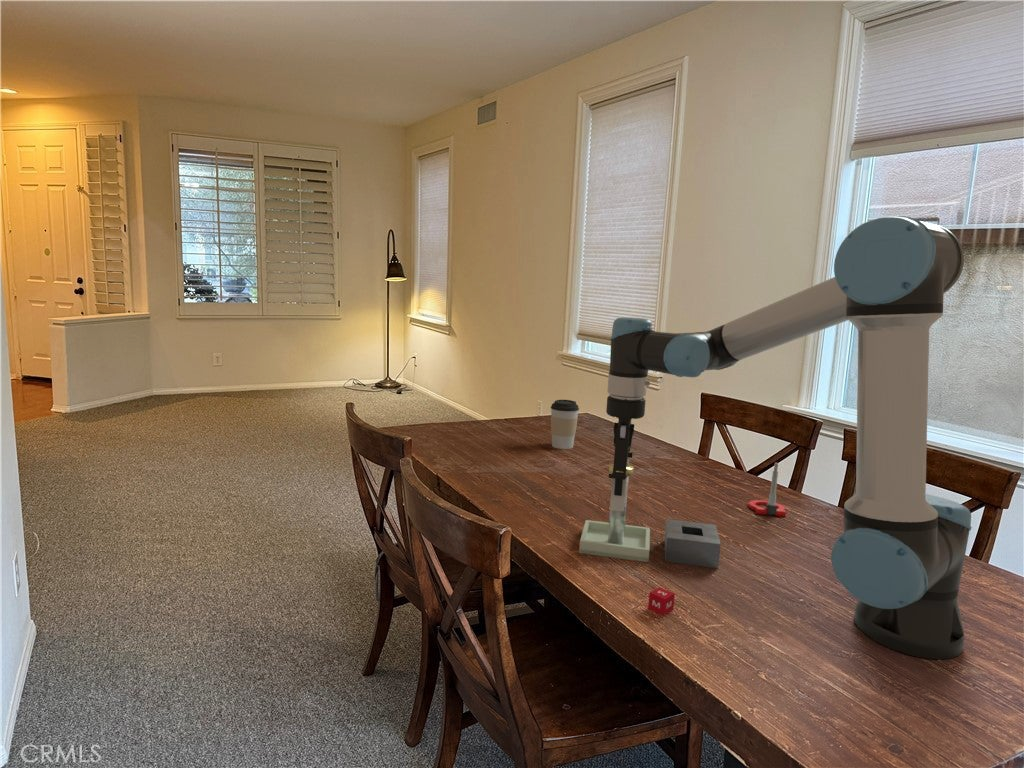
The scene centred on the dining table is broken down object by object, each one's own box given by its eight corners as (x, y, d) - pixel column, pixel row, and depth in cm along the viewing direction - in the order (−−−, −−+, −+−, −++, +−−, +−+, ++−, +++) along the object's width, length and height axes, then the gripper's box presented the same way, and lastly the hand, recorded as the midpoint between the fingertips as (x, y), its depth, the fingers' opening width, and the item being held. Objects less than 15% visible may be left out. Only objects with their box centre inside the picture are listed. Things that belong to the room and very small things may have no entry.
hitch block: (718, 568, 125) (720, 544, 124) (665, 561, 127) (667, 537, 126) (713, 547, 135) (715, 524, 134) (664, 541, 137) (666, 518, 136)
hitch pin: (626, 548, 130) (633, 471, 128) (602, 545, 131) (608, 468, 129) (627, 539, 135) (633, 464, 132) (604, 536, 136) (610, 462, 133)
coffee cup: (545, 448, 205) (547, 401, 202) (552, 441, 213) (554, 396, 210) (573, 451, 202) (576, 404, 199) (579, 444, 211) (582, 399, 208)
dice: (648, 608, 109) (649, 592, 108) (658, 603, 111) (659, 586, 111) (663, 616, 107) (664, 599, 106) (673, 610, 109) (674, 593, 108)
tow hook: (745, 503, 164) (752, 514, 155) (750, 453, 162) (758, 462, 153) (779, 506, 163) (789, 518, 154) (785, 456, 161) (796, 465, 152)
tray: (648, 562, 126) (649, 550, 126) (579, 552, 129) (579, 541, 129) (648, 538, 138) (649, 527, 137) (585, 530, 140) (585, 519, 140)
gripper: (644, 410, 115) (635, 523, 119) (646, 387, 139) (638, 481, 143) (602, 406, 117) (594, 518, 120) (611, 384, 141) (604, 477, 144)
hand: (618, 498), depth 132 cm, fingers open, 13 cm apart
